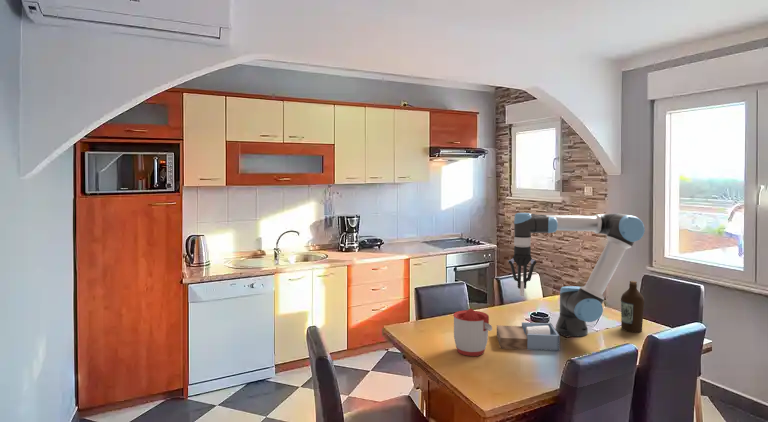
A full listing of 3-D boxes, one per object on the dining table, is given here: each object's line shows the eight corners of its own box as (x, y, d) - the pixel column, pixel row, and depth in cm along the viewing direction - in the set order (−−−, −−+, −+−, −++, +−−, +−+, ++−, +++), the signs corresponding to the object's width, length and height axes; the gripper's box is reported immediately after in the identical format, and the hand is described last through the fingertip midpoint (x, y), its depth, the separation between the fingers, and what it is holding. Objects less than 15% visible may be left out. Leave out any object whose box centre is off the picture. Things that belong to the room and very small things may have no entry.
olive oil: (630, 325, 249) (631, 278, 247) (648, 331, 239) (650, 282, 237) (615, 327, 245) (616, 280, 243) (633, 334, 235) (634, 284, 233)
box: (551, 337, 231) (551, 323, 231) (559, 351, 213) (559, 335, 213) (521, 336, 233) (521, 322, 233) (527, 349, 215) (527, 334, 215)
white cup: (528, 345, 220) (550, 345, 219) (528, 328, 220) (550, 328, 219) (525, 339, 228) (547, 339, 227) (525, 323, 228) (546, 323, 226)
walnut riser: (521, 336, 233) (521, 326, 233) (527, 349, 215) (527, 338, 215) (496, 335, 235) (496, 325, 234) (500, 348, 217) (500, 337, 217)
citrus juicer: (485, 362, 201) (485, 316, 200) (447, 354, 211) (447, 310, 209) (497, 350, 215) (497, 307, 213) (461, 343, 224) (461, 302, 222)
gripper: (535, 244, 224) (534, 293, 226) (507, 244, 226) (506, 293, 228) (538, 247, 217) (537, 297, 219) (509, 247, 219) (508, 297, 221)
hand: (521, 295), depth 223 cm, fingers closed
